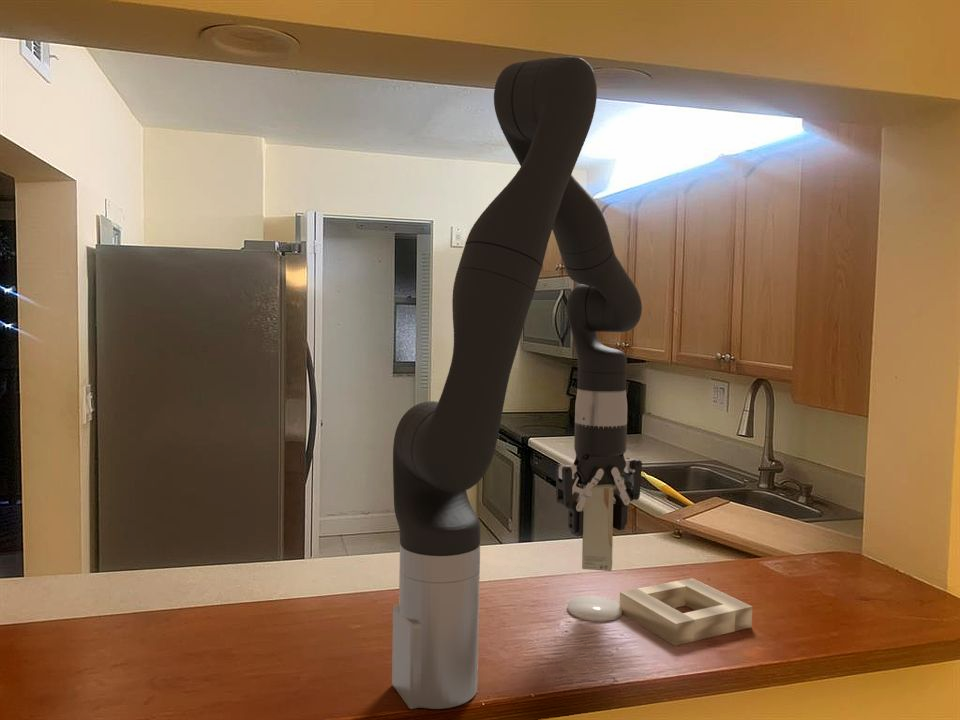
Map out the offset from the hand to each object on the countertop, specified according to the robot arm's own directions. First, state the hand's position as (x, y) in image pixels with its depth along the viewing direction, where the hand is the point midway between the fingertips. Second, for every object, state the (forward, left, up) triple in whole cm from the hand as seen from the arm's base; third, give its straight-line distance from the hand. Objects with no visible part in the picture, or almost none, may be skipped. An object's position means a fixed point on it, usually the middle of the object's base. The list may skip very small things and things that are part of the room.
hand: (598, 531), depth 105 cm
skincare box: (0, 0, -5) cm, 5 cm away
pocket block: (+10, -8, -12) cm, 17 cm away
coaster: (0, 0, -12) cm, 12 cm away
